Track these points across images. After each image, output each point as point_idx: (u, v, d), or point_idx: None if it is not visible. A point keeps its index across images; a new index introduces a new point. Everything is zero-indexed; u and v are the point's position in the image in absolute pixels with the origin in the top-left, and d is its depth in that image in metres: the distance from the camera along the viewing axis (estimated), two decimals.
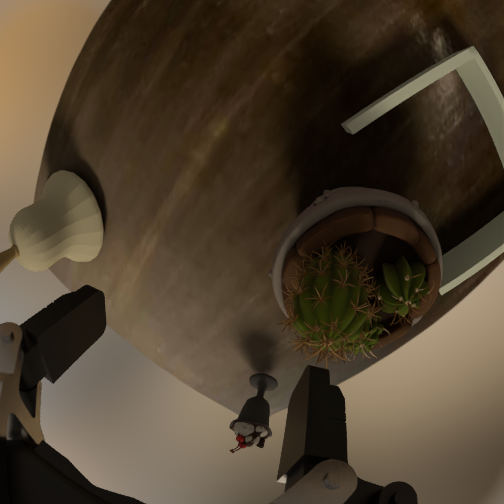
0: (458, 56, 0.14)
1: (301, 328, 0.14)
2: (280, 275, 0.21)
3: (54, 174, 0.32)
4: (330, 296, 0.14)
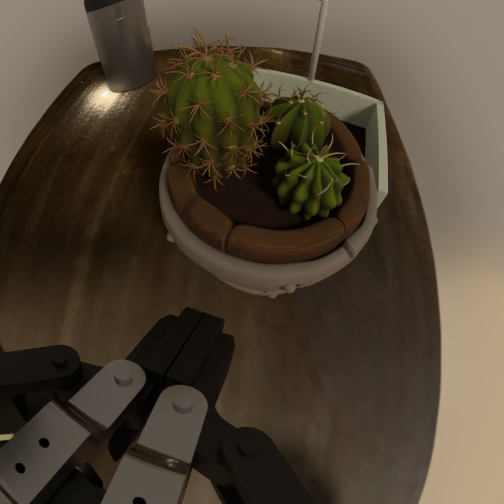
0: None
1: (177, 81, 0.10)
2: (174, 210, 0.15)
3: None
4: None
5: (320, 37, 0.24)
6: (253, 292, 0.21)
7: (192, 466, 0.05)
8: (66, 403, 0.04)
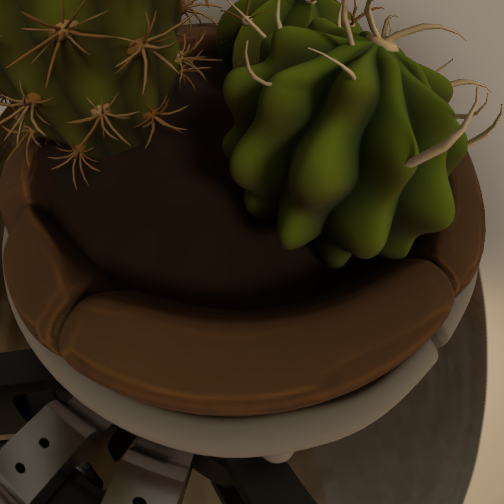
0: None
1: None
2: None
3: None
4: None
5: None
6: None
7: (192, 466, 0.05)
8: (66, 403, 0.04)
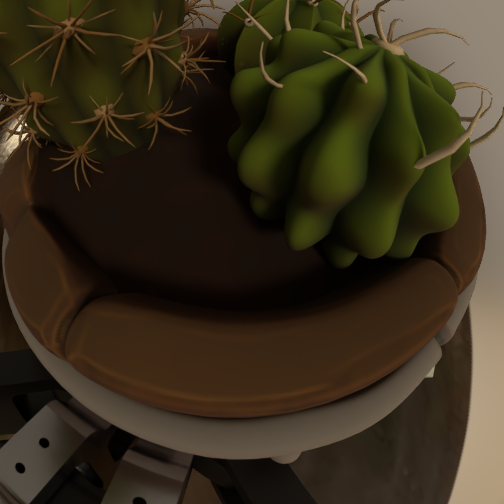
0: None
1: None
2: None
3: None
4: None
5: None
6: None
7: (192, 466, 0.05)
8: (66, 403, 0.04)
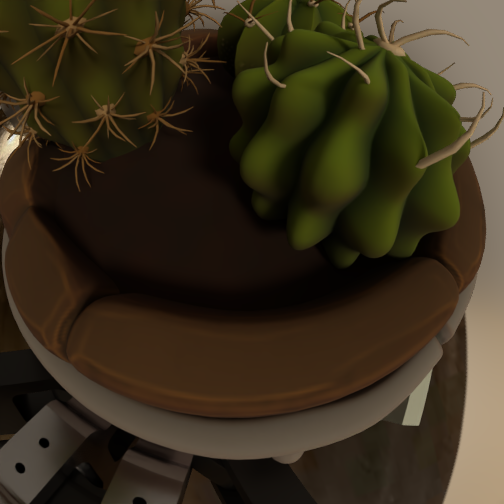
0: None
1: None
2: None
3: None
4: None
5: None
6: None
7: (192, 466, 0.05)
8: (66, 403, 0.04)
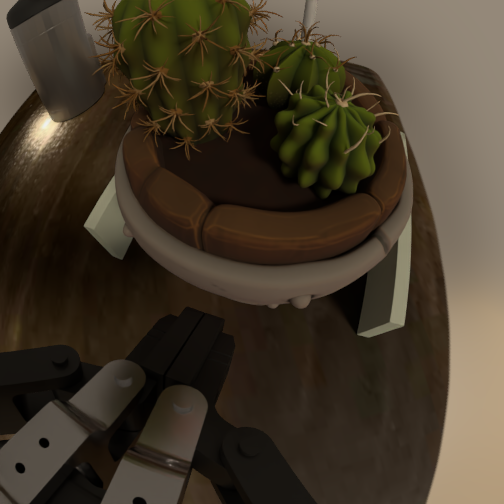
0: None
1: None
2: (130, 191, 0.10)
3: None
4: None
5: None
6: (248, 301, 0.16)
7: (192, 466, 0.05)
8: (66, 403, 0.04)
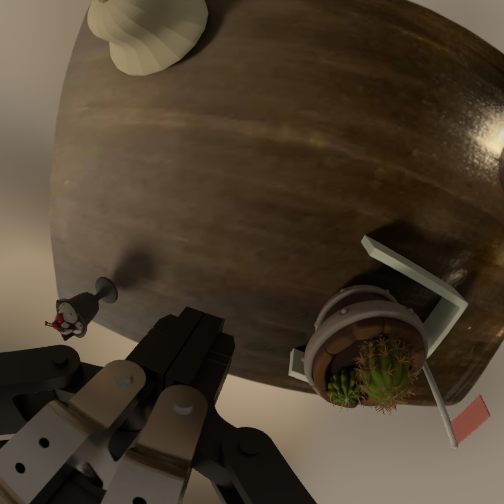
0: (455, 297, 0.27)
1: (386, 381, 0.18)
2: (355, 321, 0.24)
3: None
4: (408, 376, 0.18)
5: (434, 395, 0.24)
6: (318, 318, 0.33)
7: (192, 466, 0.05)
8: (66, 403, 0.04)
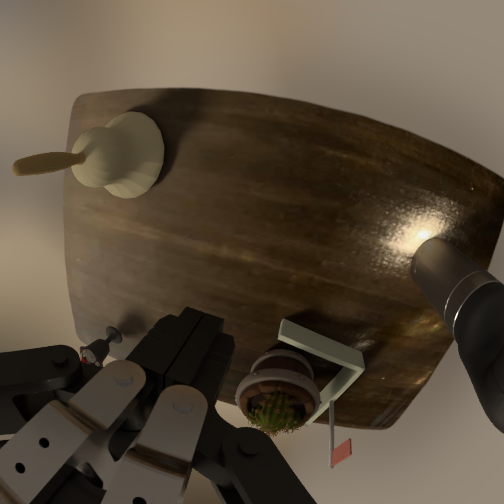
0: (351, 365, 0.42)
1: (266, 421, 0.34)
2: (260, 381, 0.40)
3: (153, 125, 0.38)
4: (282, 420, 0.34)
5: None
6: (251, 368, 0.49)
7: (192, 466, 0.05)
8: (66, 403, 0.04)
